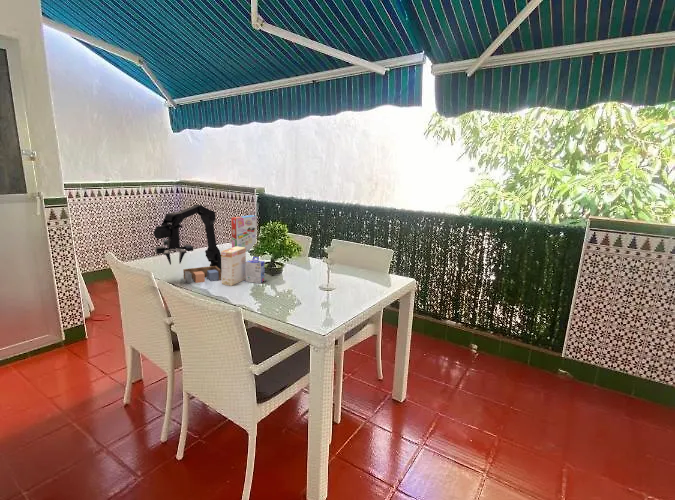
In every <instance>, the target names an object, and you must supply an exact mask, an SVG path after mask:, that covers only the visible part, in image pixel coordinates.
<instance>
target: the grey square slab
mask: <svg viewBox="0 0 675 500" xmlns="http://www.w3.org/2000/svg"><path fill="white" fill-rule="evenodd" d="M185 282H186V284H192V283H193V279H192V274H191V273H190V272H189V271H185Z"/></svg>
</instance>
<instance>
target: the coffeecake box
mask: <svg viewBox="0 0 675 500" xmlns="http://www.w3.org/2000/svg"><path fill="white" fill-rule="evenodd" d="M246 252H247V251H246V248H245V247H239V246H236V247H233V248H232V247H230V248H228V249H227V248H225V249H224V250H220V253H221V269H222V272H221V285H224V286H230V287H231V286H234V285H236V284H238V283H240V282H243V281H246V262H247V259H246V257H247V255H246V254H247V253H246Z"/></svg>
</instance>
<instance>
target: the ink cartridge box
mask: <svg viewBox="0 0 675 500" xmlns="http://www.w3.org/2000/svg"><path fill="white" fill-rule="evenodd" d="M263 281H264V282H265V261H262V260H260V257H259V256H253V257H252V259H251V260H246V279H245V282H247V283H256V284H262V283H264V282H263Z"/></svg>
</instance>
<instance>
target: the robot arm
mask: <svg viewBox="0 0 675 500" xmlns="http://www.w3.org/2000/svg"><path fill="white" fill-rule="evenodd" d="M196 214H197V215H198V216H200V219H201V222H202V223H203V224H204V227H205V228H204V229H205V234H206V241H207V248H206V249H205V251H204V253H205V257H206V259H207V261H208V262H209V263H210V264H209V266H217V267H218V268H219V269H220V270H221V273H222V269H221V250H220V249H219V247H218V246H217V241H216V234H215V226H214V225H215V221H216V212H215V211H214V210H211V209H209V208H206V207H205V206H203V205H201V204H194V205H192V206H190V207H187V208H185V209H183V210H180V211H176V212H175V211H172V212H168V213H166V214H165V217H164V219H163V220H162V222H161V224H160V225H155V229H154V230H153V236H154V238H155V239H157V240H163V242H162V243H163V246H156V247H155V248H154V252H155V253H156V254H157V255H158V254H159V255H160V254H162V255H165V256H166V258H167V261H168V263H169V265H170V266H171V265H172V261H171V253H170V252H171V251H172V252H173V251H179V256H178V257H179V259H178V262H179V263H178V264H180V265H181V263H182V261H183V259H184V256H185V254H187V253H188V252H193V251H194V246H193V245H192V244H189V243H188V244H183V246H181V243H180V239H181V238H180V228H181V229H182V228H183V226H182V225H181V223H183V222H184V220H185V219H187V218H189V217H192V216H194V215H196ZM164 246H167V247H164Z"/></svg>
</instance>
